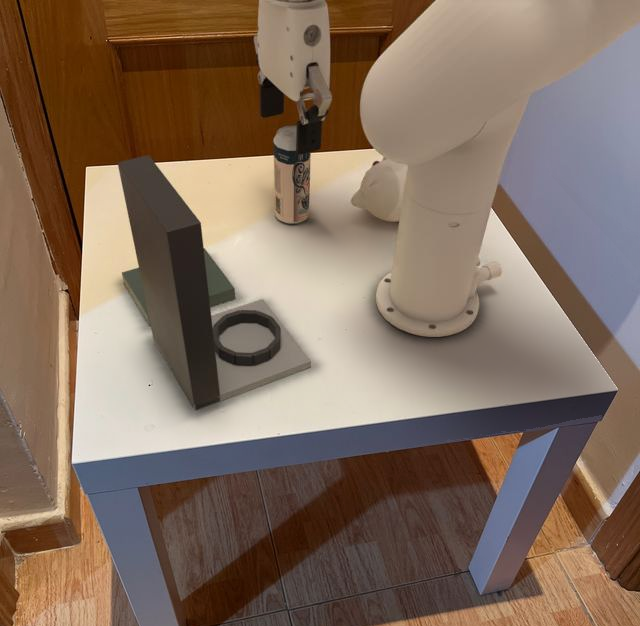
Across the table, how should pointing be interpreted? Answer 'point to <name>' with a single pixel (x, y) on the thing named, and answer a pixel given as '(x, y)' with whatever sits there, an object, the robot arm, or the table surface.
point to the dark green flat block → (216, 280)
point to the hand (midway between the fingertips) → (289, 132)
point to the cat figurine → (382, 190)
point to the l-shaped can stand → (197, 300)
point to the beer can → (290, 178)
